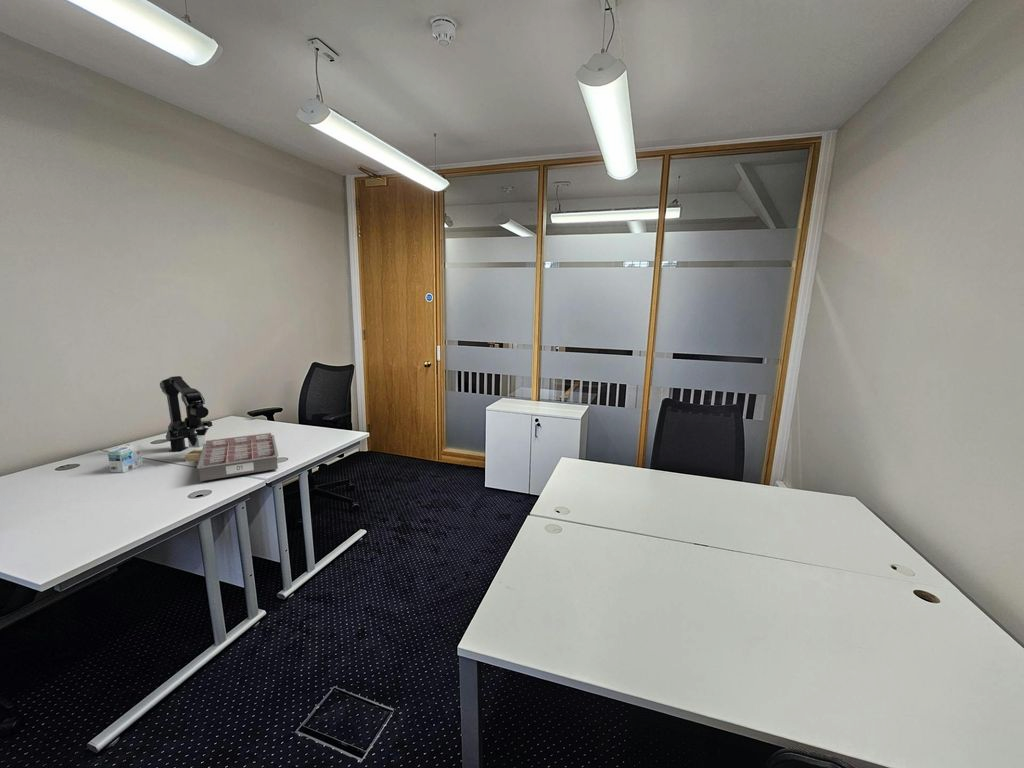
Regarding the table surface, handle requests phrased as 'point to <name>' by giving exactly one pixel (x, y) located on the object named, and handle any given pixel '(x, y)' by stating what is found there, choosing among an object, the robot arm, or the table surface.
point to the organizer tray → (237, 456)
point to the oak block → (193, 455)
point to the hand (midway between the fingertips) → (197, 444)
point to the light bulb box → (125, 458)
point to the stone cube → (198, 441)
